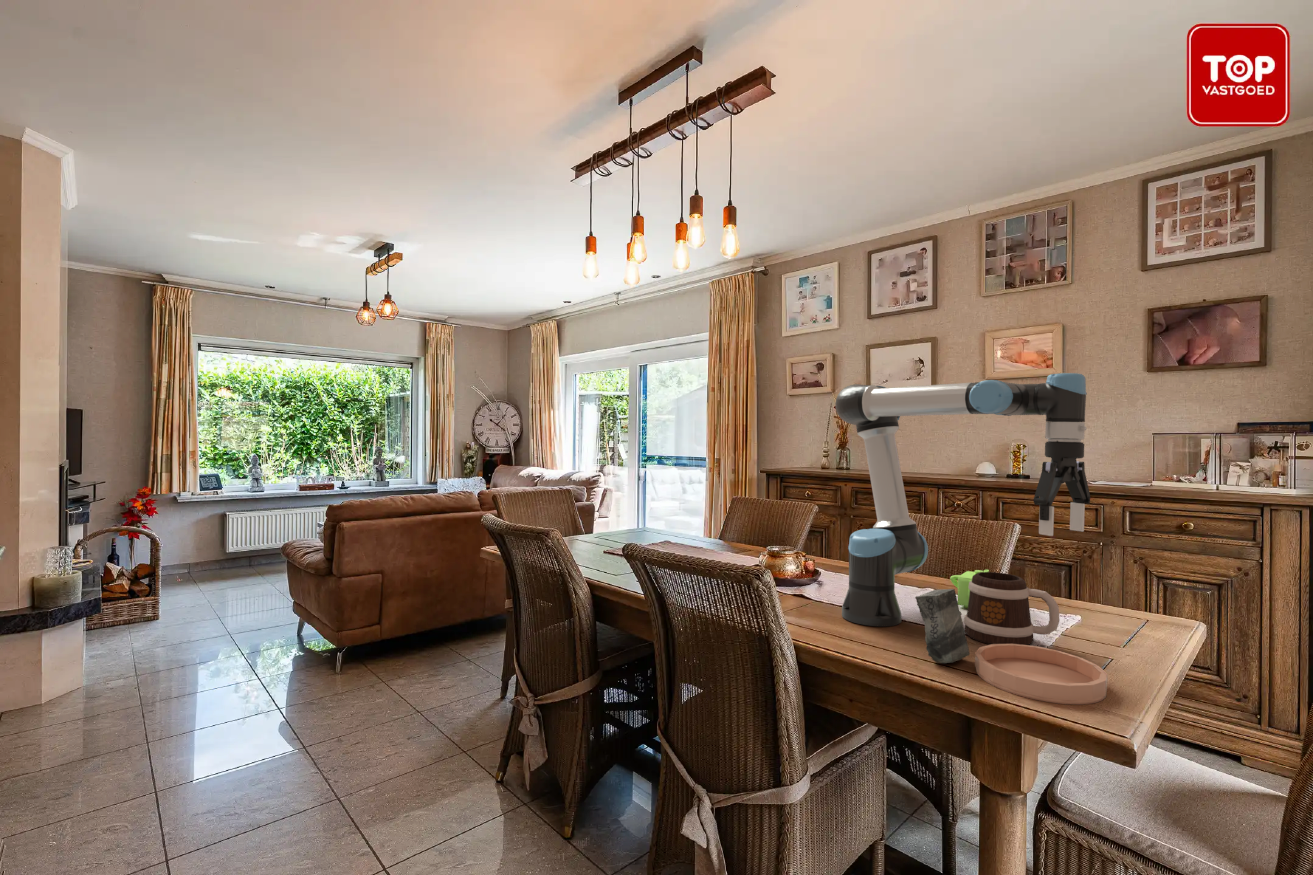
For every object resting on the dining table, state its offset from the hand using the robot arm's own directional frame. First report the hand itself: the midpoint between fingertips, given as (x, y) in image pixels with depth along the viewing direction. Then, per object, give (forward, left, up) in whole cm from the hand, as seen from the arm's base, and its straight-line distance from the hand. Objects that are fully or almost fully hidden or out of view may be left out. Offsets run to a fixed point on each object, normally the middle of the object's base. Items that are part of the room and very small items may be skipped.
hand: (1061, 532), depth 139 cm
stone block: (-19, -26, -27) cm, 42 cm away
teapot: (-22, +25, -27) cm, 43 cm away
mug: (-10, -1, -27) cm, 29 cm away
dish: (-1, -25, -27) cm, 37 cm away
